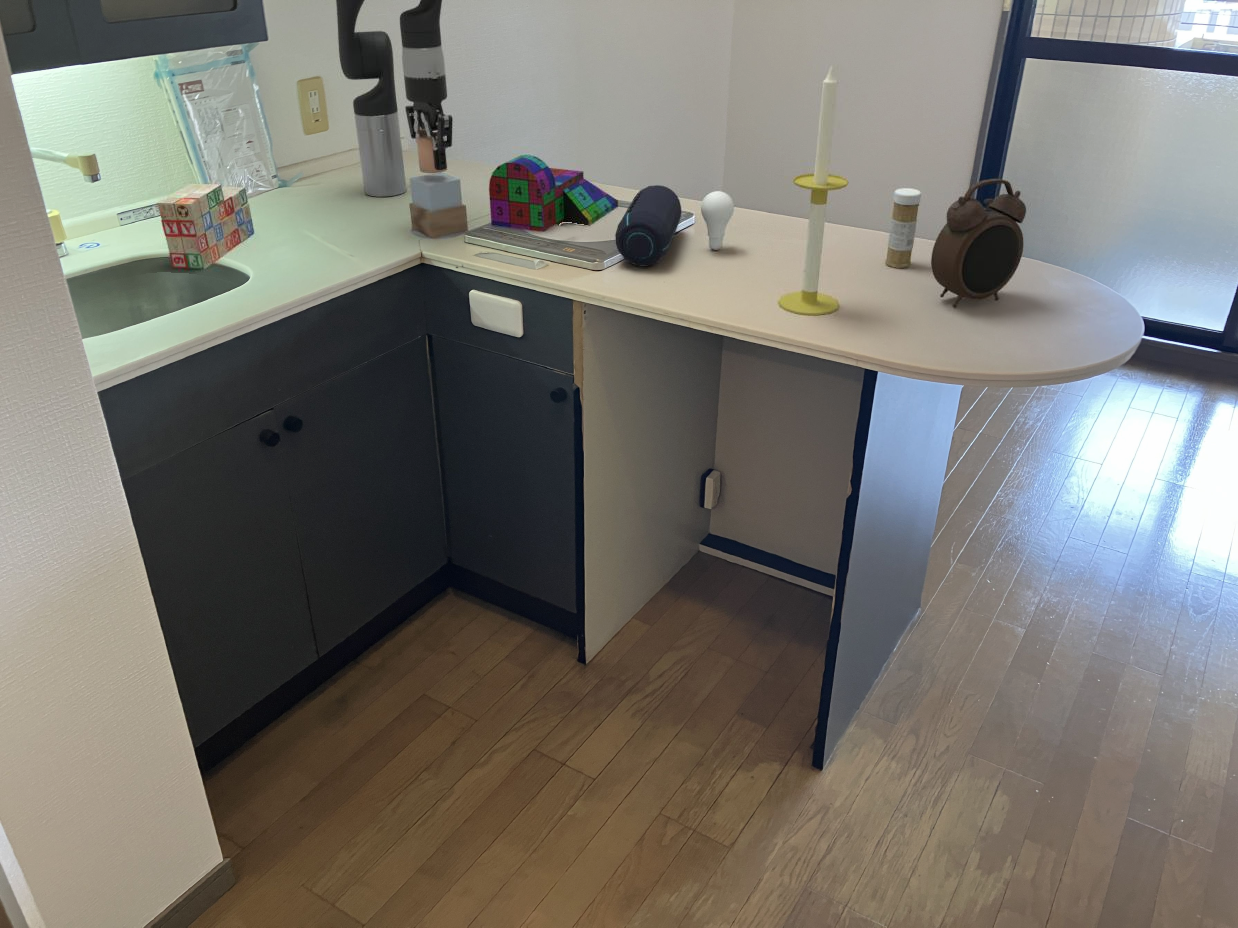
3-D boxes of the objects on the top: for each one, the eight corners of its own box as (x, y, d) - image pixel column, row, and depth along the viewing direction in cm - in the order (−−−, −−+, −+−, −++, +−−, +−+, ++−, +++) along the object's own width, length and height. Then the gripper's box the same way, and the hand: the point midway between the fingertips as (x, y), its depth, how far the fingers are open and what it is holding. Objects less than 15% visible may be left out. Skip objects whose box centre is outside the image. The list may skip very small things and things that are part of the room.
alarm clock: (949, 315, 162) (971, 191, 152) (921, 300, 168) (940, 180, 158) (1020, 301, 167) (1045, 181, 157) (990, 287, 173) (1012, 170, 163)
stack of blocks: (225, 232, 201) (212, 170, 195) (255, 233, 201) (243, 171, 194) (172, 268, 183) (156, 201, 177) (204, 270, 182) (189, 202, 176)
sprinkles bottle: (899, 259, 186) (909, 186, 179) (915, 266, 182) (927, 192, 175) (879, 263, 184) (889, 189, 177) (895, 270, 180) (906, 195, 174)
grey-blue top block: (412, 204, 197) (409, 178, 194) (443, 197, 200) (441, 172, 198) (430, 212, 192) (428, 185, 189) (462, 205, 196) (460, 179, 193)
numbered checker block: (568, 241, 196) (566, 167, 189) (491, 231, 202) (486, 159, 195) (618, 207, 216) (617, 139, 209) (547, 199, 222) (544, 132, 215)
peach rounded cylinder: (414, 169, 193) (411, 137, 190) (438, 165, 196) (435, 133, 193) (428, 174, 190) (424, 142, 187) (452, 170, 192) (449, 138, 189)
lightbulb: (736, 247, 192) (739, 189, 186) (725, 256, 187) (728, 198, 182) (705, 243, 194) (708, 186, 189) (694, 252, 189) (696, 194, 184)
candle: (839, 317, 162) (868, 70, 143) (776, 313, 163) (796, 68, 144) (838, 295, 170) (865, 59, 151) (779, 291, 172) (798, 57, 153)
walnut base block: (412, 228, 199) (409, 203, 197) (447, 221, 204) (445, 196, 201) (432, 238, 194) (429, 213, 191) (467, 230, 198) (465, 205, 196)
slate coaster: (402, 233, 200) (401, 228, 199) (450, 223, 206) (449, 218, 205) (429, 247, 193) (428, 242, 192) (478, 236, 198) (478, 231, 198)
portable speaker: (634, 229, 202) (634, 179, 197) (683, 231, 201) (684, 181, 196) (611, 270, 181) (611, 216, 176) (666, 274, 180) (667, 218, 175)
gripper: (387, 69, 187) (398, 162, 195) (425, 80, 177) (434, 177, 186) (423, 65, 191) (432, 156, 199) (462, 75, 181) (469, 171, 190)
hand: (433, 166), depth 192 cm, fingers closed on peach rounded cylinder, 5 cm apart
